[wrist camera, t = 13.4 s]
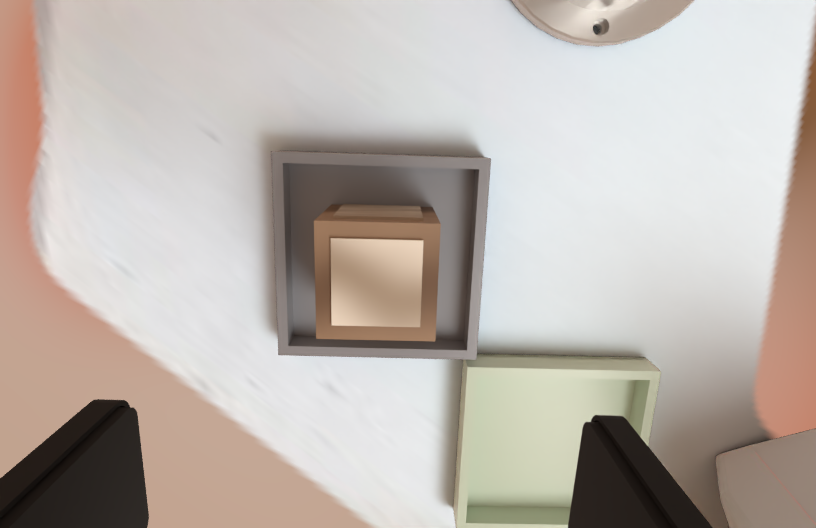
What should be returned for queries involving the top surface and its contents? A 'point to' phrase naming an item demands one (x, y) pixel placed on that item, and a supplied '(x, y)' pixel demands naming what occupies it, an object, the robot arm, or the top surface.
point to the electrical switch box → (770, 483)
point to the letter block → (376, 272)
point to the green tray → (537, 431)
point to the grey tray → (380, 185)
